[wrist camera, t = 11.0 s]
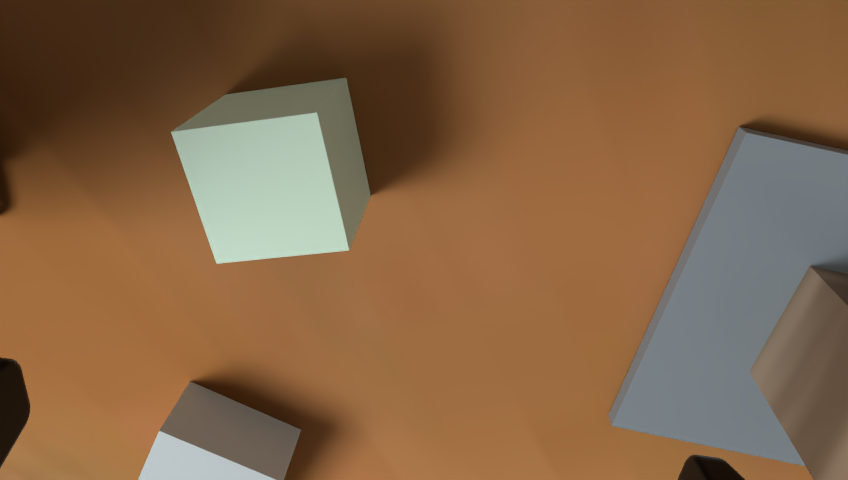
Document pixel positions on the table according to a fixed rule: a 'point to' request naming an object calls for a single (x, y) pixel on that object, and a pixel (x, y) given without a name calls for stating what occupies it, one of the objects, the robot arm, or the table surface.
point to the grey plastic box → (219, 441)
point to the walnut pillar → (811, 372)
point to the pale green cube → (276, 171)
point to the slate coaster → (737, 295)
